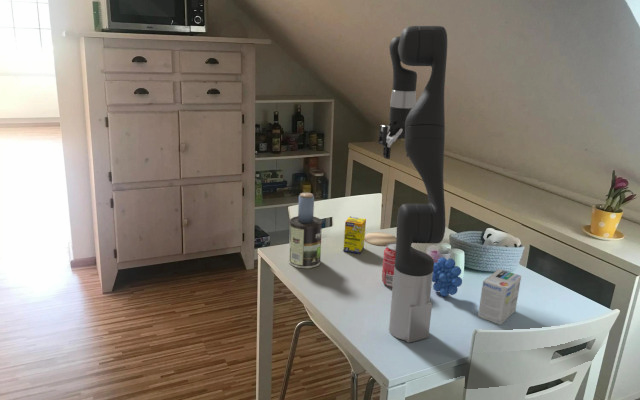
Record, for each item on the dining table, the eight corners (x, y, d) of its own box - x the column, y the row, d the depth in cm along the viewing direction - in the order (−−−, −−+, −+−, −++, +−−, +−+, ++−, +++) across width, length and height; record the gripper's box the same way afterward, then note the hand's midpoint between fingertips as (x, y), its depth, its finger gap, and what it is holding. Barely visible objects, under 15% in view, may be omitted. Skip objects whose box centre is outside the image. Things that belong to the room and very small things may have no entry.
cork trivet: (403, 243, 191) (403, 241, 190) (375, 247, 185) (375, 246, 185) (385, 231, 201) (385, 230, 201) (357, 235, 195) (357, 234, 195)
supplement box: (343, 251, 181) (344, 221, 177) (347, 245, 186) (349, 216, 183) (360, 254, 179) (362, 223, 176) (364, 248, 185) (366, 218, 181)
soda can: (404, 279, 162) (408, 242, 158) (405, 289, 155) (409, 251, 152) (381, 277, 162) (384, 240, 159) (381, 287, 156) (384, 249, 152)
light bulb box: (492, 302, 150) (498, 267, 147) (516, 311, 146) (522, 275, 143) (476, 316, 142) (482, 280, 139) (501, 326, 138) (507, 288, 135)
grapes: (469, 301, 150) (474, 262, 147) (452, 306, 147) (457, 266, 143) (440, 284, 159) (444, 247, 156) (423, 289, 156) (427, 251, 152)
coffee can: (322, 257, 175) (324, 216, 171) (317, 270, 166) (319, 227, 162) (292, 254, 177) (293, 214, 173) (285, 266, 167) (286, 224, 163)
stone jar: (315, 222, 166) (316, 195, 164) (301, 224, 164) (302, 197, 161) (309, 217, 170) (310, 191, 168) (295, 219, 168) (296, 193, 166)
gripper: (390, 107, 155) (386, 162, 160) (429, 106, 162) (423, 158, 167) (376, 104, 162) (372, 156, 167) (414, 103, 168) (409, 153, 173)
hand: (398, 157), depth 167 cm, fingers open, 8 cm apart
